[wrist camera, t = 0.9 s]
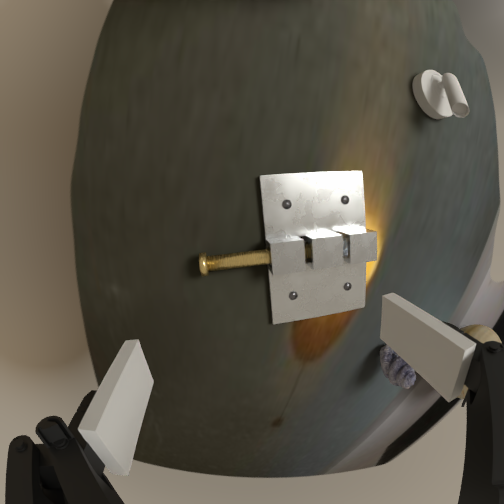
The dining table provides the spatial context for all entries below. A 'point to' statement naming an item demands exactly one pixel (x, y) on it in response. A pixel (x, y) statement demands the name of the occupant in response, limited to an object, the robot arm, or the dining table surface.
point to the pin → (238, 260)
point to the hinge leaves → (316, 243)
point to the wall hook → (439, 95)
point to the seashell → (396, 368)
